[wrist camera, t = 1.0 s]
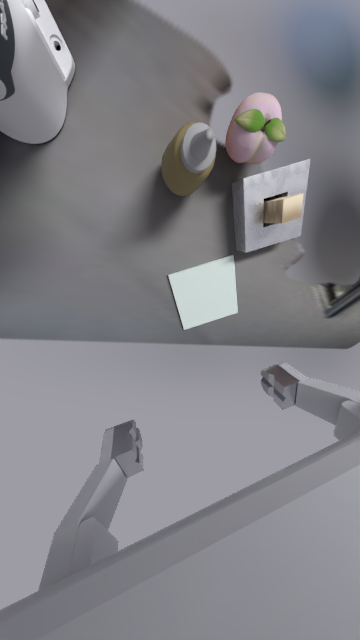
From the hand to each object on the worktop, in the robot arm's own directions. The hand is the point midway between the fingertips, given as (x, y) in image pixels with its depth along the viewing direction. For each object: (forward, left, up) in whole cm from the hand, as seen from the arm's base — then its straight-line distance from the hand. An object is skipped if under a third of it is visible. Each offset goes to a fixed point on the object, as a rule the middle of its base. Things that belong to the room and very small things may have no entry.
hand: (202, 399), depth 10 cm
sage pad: (+12, +11, -38) cm, 41 cm away
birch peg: (-5, +28, -38) cm, 47 cm away
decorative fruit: (-18, +23, -38) cm, 48 cm away
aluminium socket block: (-5, +28, -38) cm, 47 cm away
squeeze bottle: (-16, +10, -38) cm, 42 cm away
